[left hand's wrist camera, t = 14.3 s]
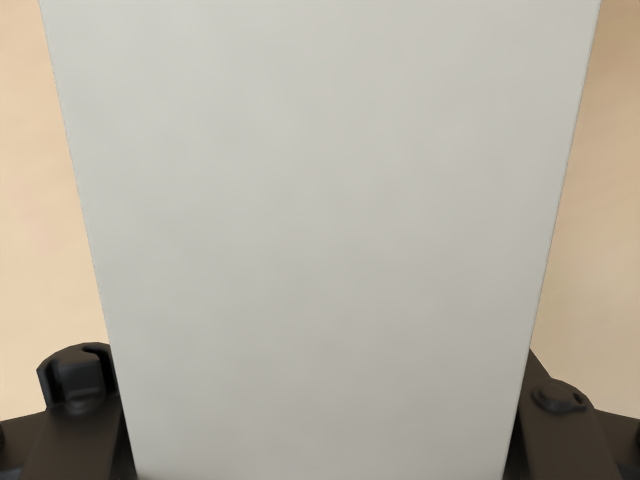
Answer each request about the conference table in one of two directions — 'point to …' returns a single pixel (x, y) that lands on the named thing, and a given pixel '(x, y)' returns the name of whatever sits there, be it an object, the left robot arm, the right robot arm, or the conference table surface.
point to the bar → (320, 222)
